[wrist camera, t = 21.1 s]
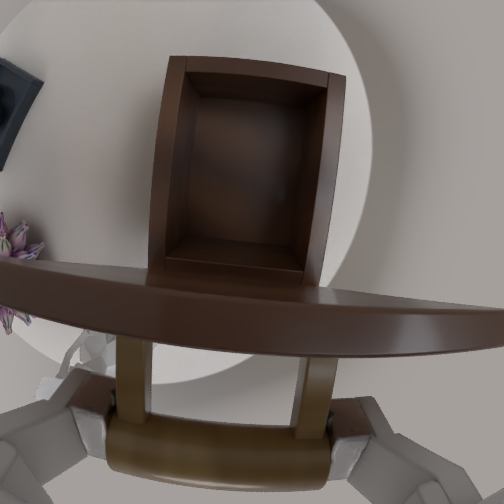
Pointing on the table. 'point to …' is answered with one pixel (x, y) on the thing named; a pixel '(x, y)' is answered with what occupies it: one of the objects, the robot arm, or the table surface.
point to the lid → (235, 341)
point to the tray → (16, 102)
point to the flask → (6, 105)
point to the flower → (16, 248)
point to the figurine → (84, 360)
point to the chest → (245, 169)
